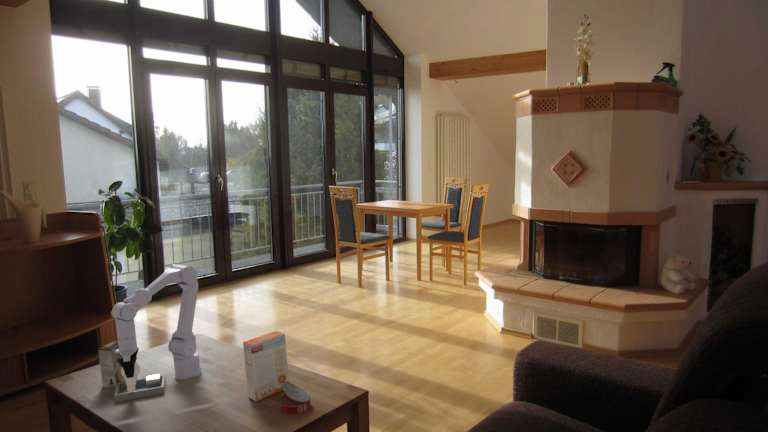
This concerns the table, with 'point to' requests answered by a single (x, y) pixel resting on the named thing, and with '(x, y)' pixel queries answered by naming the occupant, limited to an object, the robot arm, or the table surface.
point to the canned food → (294, 399)
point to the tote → (138, 390)
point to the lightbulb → (131, 381)
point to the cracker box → (265, 365)
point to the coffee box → (110, 365)
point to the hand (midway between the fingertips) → (131, 373)
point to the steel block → (153, 381)
